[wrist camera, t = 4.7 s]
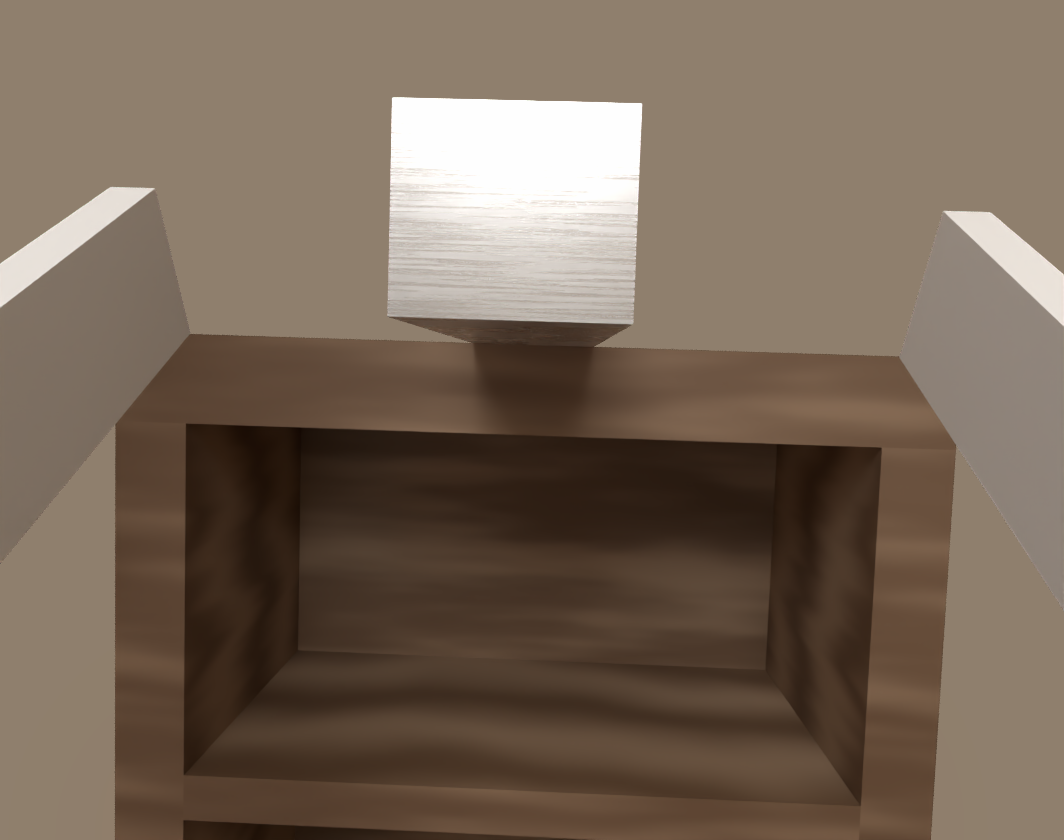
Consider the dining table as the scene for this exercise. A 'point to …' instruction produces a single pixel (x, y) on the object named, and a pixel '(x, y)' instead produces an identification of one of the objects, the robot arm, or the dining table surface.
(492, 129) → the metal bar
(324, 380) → the walnut shelf
